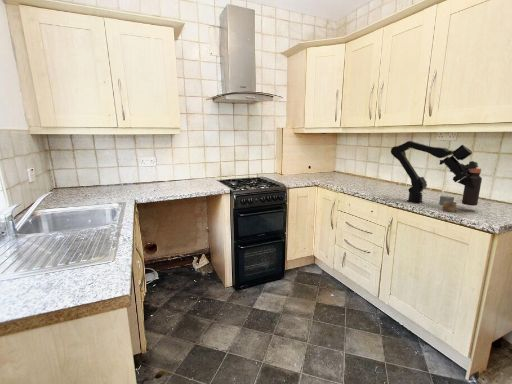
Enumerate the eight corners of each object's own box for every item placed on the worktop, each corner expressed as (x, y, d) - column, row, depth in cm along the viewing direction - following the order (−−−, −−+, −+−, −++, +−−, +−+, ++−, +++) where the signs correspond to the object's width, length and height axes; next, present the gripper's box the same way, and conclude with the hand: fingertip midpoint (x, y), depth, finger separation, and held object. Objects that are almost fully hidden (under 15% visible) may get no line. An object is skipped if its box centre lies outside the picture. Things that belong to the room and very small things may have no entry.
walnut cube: (442, 211, 148) (443, 202, 147) (444, 209, 152) (445, 200, 151) (453, 212, 145) (454, 204, 144) (455, 211, 148) (456, 202, 147)
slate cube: (439, 204, 163) (440, 196, 162) (444, 203, 165) (445, 195, 164) (447, 206, 159) (448, 197, 158) (453, 205, 160) (454, 197, 159)
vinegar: (471, 202, 151) (477, 167, 146) (480, 205, 144) (487, 169, 140) (458, 202, 151) (464, 167, 147) (467, 205, 144) (473, 169, 140)
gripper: (463, 157, 139) (487, 180, 133) (472, 155, 151) (494, 176, 145) (443, 170, 147) (465, 193, 141) (454, 167, 158) (474, 188, 152)
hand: (475, 187), depth 144 cm, fingers closed on vinegar, 6 cm apart
